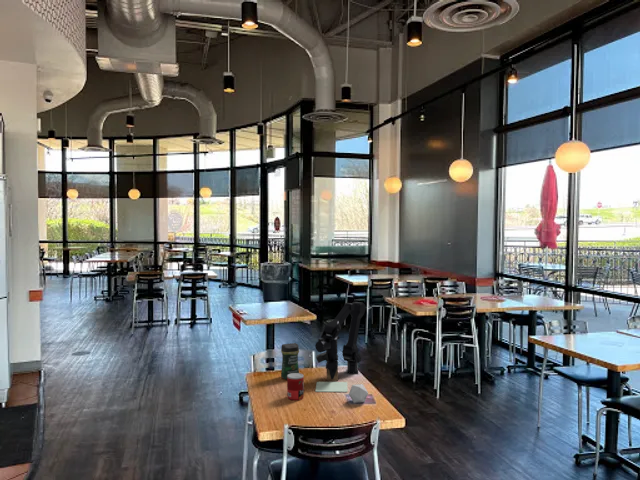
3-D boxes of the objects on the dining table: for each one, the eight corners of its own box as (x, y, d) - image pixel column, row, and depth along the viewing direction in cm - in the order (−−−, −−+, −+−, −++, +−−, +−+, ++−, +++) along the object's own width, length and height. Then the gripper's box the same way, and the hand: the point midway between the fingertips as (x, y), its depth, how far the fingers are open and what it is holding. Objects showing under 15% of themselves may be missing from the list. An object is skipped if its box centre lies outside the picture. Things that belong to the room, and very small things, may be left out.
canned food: (301, 401, 221) (301, 378, 221) (285, 400, 223) (285, 377, 222) (305, 395, 229) (305, 373, 228) (289, 394, 230) (289, 372, 230)
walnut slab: (326, 379, 252) (326, 368, 252) (337, 379, 252) (337, 368, 252) (326, 380, 250) (326, 369, 249) (337, 381, 249) (337, 369, 249)
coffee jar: (284, 380, 250) (283, 346, 250) (279, 376, 258) (279, 342, 257) (301, 378, 254) (300, 344, 254) (296, 374, 261) (295, 341, 261)
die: (364, 407, 214) (373, 388, 218) (347, 398, 214) (356, 379, 218) (359, 407, 222) (368, 388, 226) (343, 398, 222) (352, 380, 226)
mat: (316, 382, 247) (316, 381, 247) (347, 382, 246) (347, 381, 246) (315, 392, 233) (315, 391, 233) (347, 392, 232) (347, 391, 232)
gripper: (317, 343, 260) (318, 371, 260) (315, 353, 241) (316, 383, 242) (338, 343, 259) (338, 371, 260) (337, 353, 241) (337, 383, 241)
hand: (332, 377), depth 251 cm, fingers open, 5 cm apart
